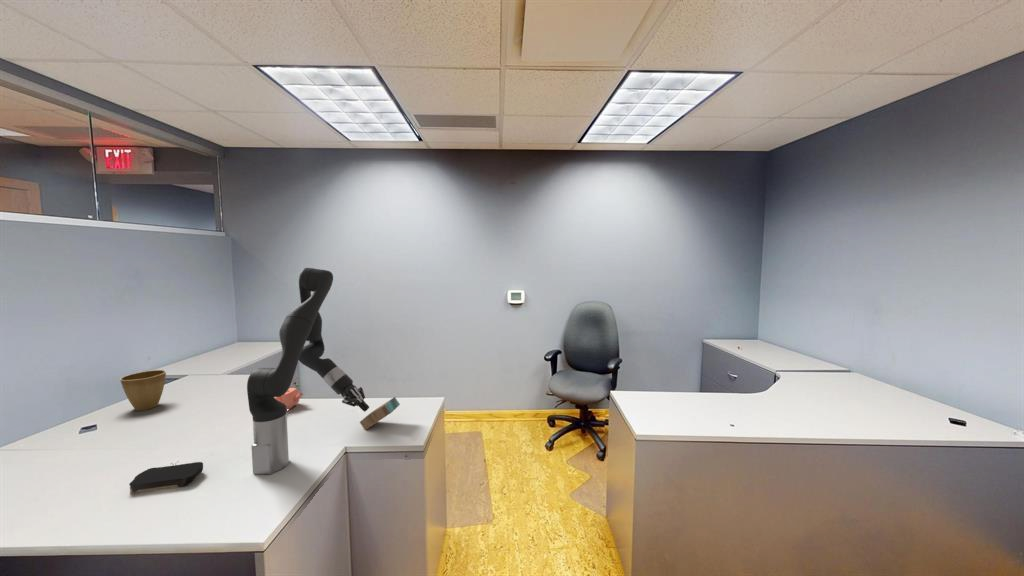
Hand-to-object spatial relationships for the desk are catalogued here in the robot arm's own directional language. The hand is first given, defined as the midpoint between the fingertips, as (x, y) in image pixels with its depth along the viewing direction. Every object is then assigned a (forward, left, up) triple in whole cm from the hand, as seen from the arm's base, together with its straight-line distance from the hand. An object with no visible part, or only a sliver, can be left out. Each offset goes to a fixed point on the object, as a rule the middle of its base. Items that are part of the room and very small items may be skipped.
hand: (367, 409), depth 145 cm
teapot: (+14, +47, -7) cm, 50 cm away
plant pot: (+10, +115, -7) cm, 116 cm away
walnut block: (0, 0, -5) cm, 5 cm away
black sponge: (-42, +43, -7) cm, 60 cm away
